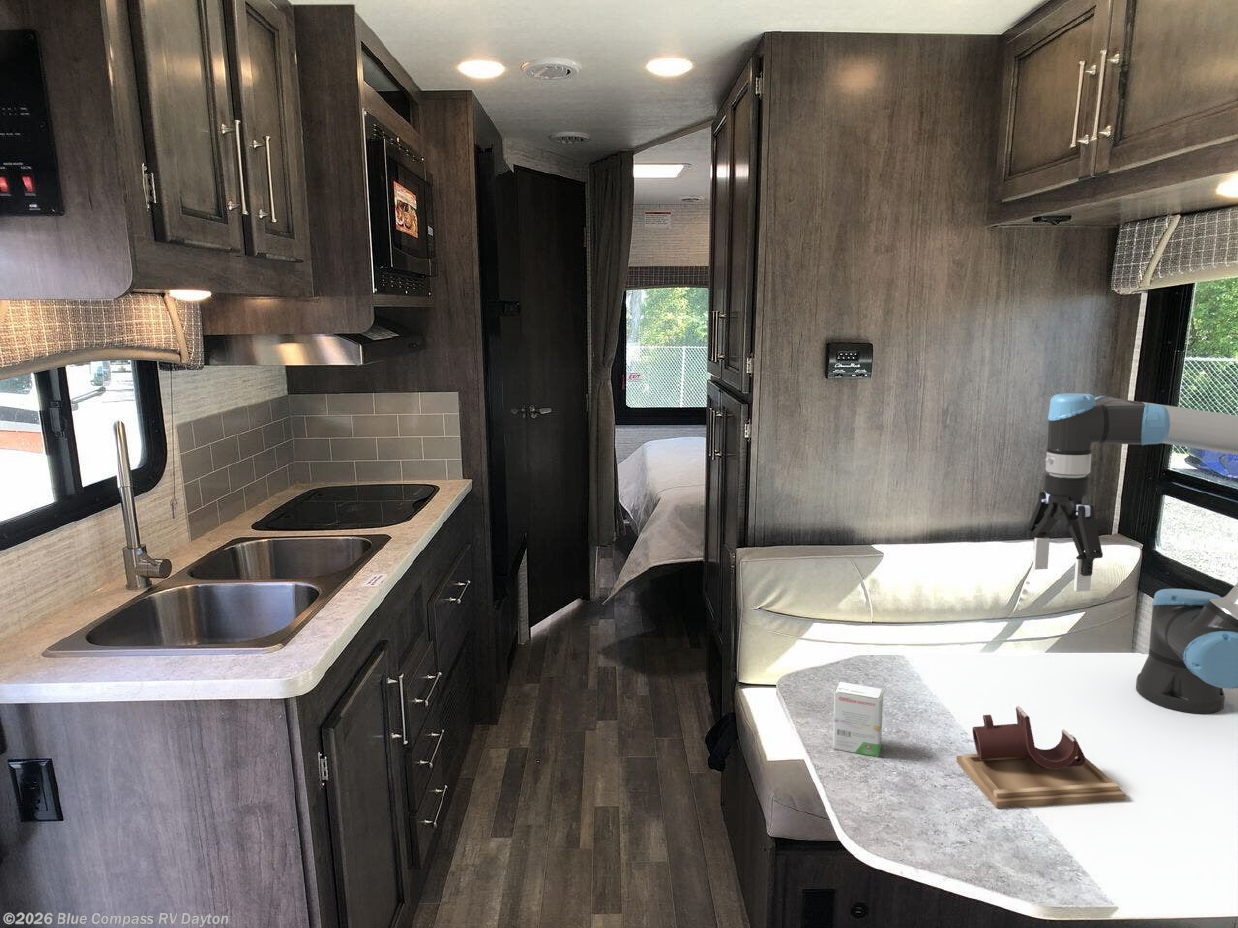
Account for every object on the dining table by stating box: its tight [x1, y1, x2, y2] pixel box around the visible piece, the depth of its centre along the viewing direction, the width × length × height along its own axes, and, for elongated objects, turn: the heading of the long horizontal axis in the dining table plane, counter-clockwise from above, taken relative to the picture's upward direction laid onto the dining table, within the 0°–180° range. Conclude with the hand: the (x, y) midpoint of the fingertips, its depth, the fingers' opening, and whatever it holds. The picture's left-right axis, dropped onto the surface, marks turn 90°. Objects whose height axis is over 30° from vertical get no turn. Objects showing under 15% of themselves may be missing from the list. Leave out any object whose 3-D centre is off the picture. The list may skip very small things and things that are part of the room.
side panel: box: [956, 753, 1126, 809], centre depth 136 cm, size 22×14×2 cm, turn 93°
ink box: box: [832, 681, 884, 758], centre depth 148 cm, size 9×5×12 cm, turn 65°
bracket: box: [972, 705, 1087, 769], centre depth 138 cm, size 6×17×10 cm, turn 76°
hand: (1060, 579), depth 154 cm, fingers open, 13 cm apart
